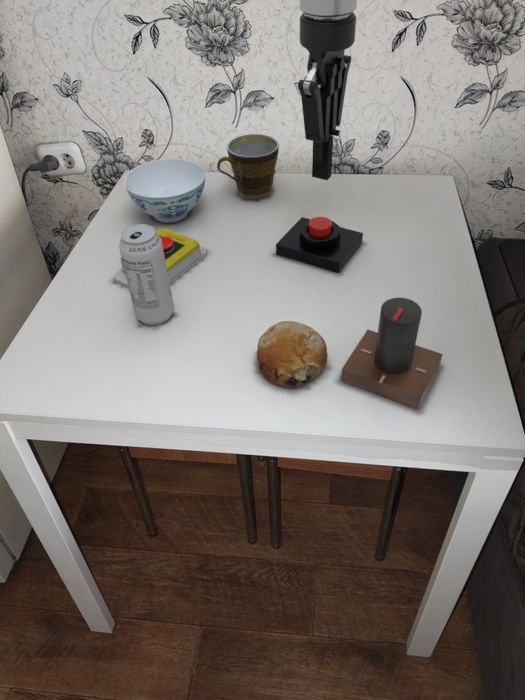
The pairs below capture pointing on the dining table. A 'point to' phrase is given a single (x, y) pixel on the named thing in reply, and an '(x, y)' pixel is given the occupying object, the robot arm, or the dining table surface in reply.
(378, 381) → the dial panel
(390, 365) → the dial
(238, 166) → the ceramic cup
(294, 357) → the bread roll
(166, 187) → the chinaware
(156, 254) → the energy drink can
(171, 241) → the emergency button
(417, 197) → the dining table surface
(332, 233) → the button box
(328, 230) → the button
